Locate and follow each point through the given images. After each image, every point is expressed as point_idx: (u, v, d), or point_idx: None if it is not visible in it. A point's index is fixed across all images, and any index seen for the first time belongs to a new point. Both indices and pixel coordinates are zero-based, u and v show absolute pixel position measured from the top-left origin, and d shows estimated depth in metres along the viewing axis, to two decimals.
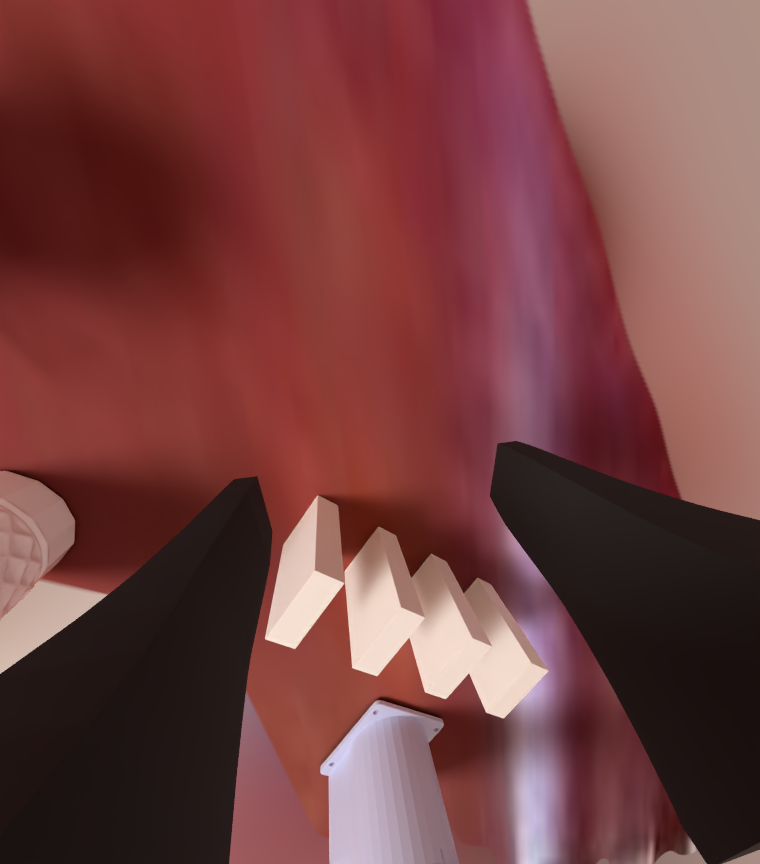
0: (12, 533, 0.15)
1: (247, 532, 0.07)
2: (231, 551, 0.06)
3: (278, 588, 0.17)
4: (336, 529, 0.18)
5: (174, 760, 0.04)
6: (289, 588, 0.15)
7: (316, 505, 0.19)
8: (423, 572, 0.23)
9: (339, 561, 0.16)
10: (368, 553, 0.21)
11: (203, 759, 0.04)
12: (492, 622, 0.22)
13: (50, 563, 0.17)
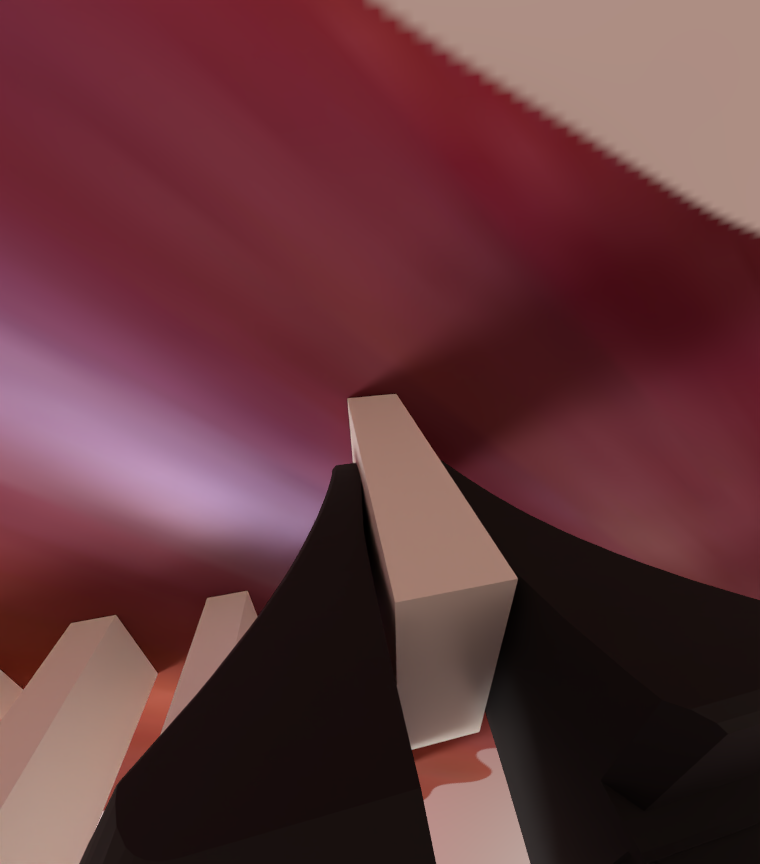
0: None
1: (363, 513, 0.08)
2: (364, 529, 0.07)
3: None
4: None
5: None
6: None
7: None
8: None
9: None
10: None
11: None
12: None
13: None
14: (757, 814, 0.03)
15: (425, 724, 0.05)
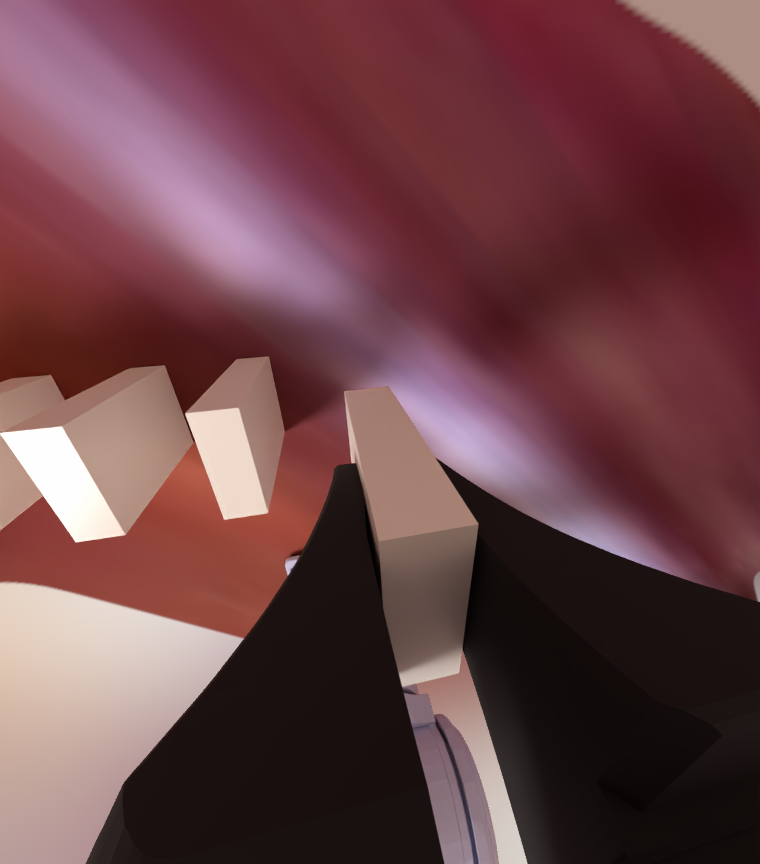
0: None
1: None
2: (366, 528, 0.07)
3: None
4: None
5: None
6: None
7: None
8: None
9: None
10: None
11: None
12: None
13: None
14: (753, 816, 0.03)
15: (410, 661, 0.06)
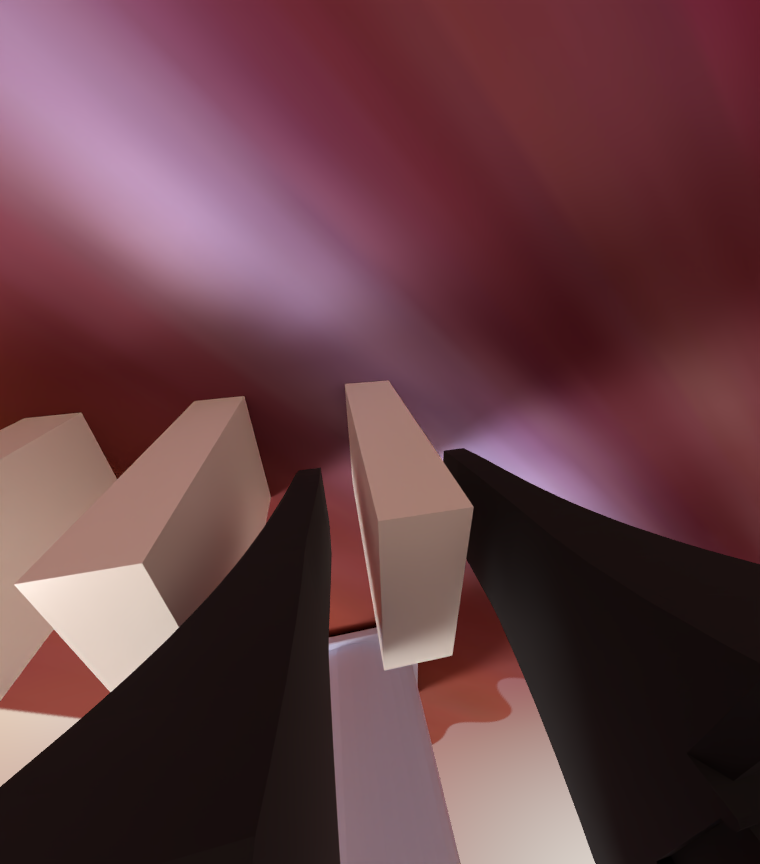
0: None
1: (321, 520, 0.07)
2: (316, 537, 0.06)
3: None
4: None
5: (313, 725, 0.04)
6: None
7: None
8: None
9: None
10: None
11: (322, 729, 0.05)
12: None
13: None
14: None
15: (406, 642, 0.07)
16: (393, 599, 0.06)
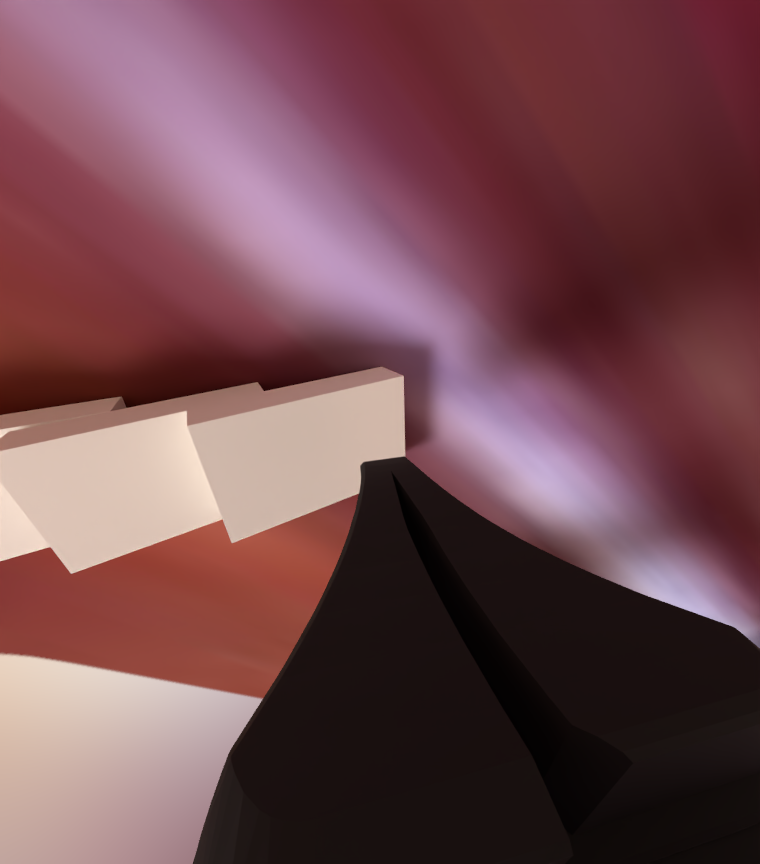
0: None
1: None
2: None
3: None
4: None
5: None
6: None
7: None
8: None
9: None
10: None
11: None
12: None
13: None
14: (688, 839, 0.03)
15: None
16: None
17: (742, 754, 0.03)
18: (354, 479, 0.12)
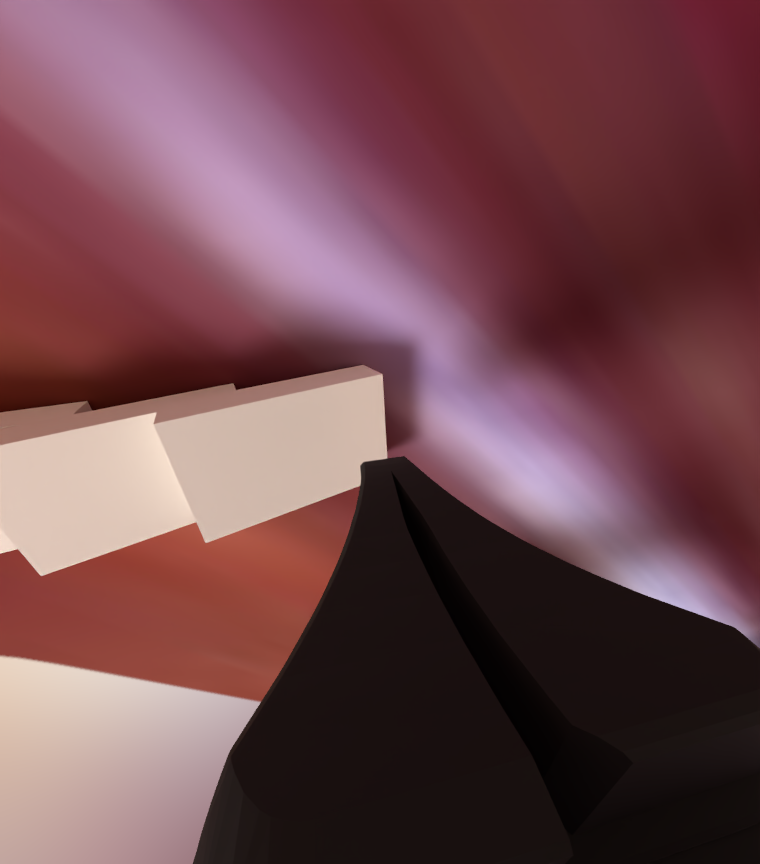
0: None
1: None
2: None
3: None
4: None
5: None
6: None
7: None
8: None
9: None
10: None
11: None
12: None
13: None
14: (689, 839, 0.03)
15: None
16: None
17: (742, 754, 0.03)
18: (333, 479, 0.12)
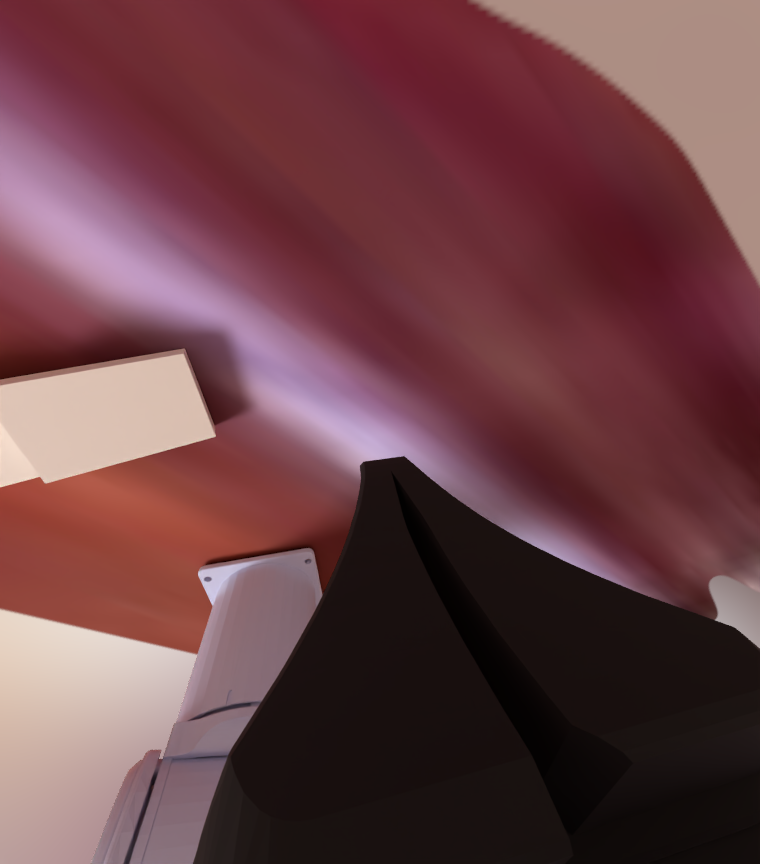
0: None
1: None
2: None
3: None
4: None
5: None
6: None
7: None
8: None
9: None
10: None
11: None
12: None
13: None
14: (688, 839, 0.03)
15: None
16: None
17: (742, 754, 0.03)
18: (158, 437, 0.15)
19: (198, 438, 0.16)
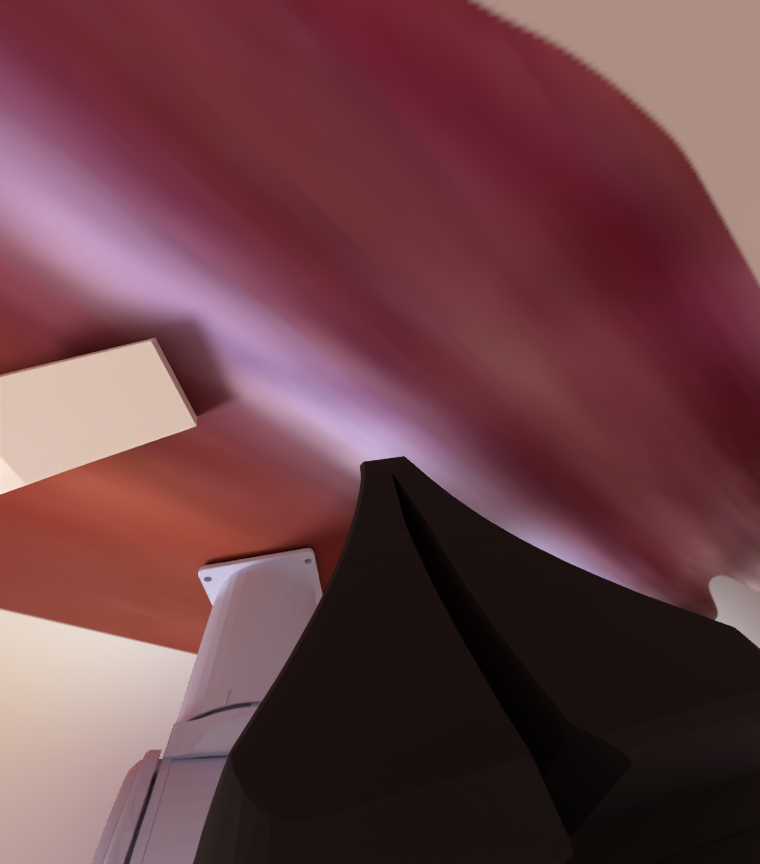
0: None
1: None
2: None
3: None
4: None
5: None
6: None
7: None
8: None
9: None
10: None
11: None
12: None
13: None
14: (688, 839, 0.03)
15: None
16: None
17: (742, 754, 0.03)
18: (136, 430, 0.15)
19: (178, 429, 0.16)
